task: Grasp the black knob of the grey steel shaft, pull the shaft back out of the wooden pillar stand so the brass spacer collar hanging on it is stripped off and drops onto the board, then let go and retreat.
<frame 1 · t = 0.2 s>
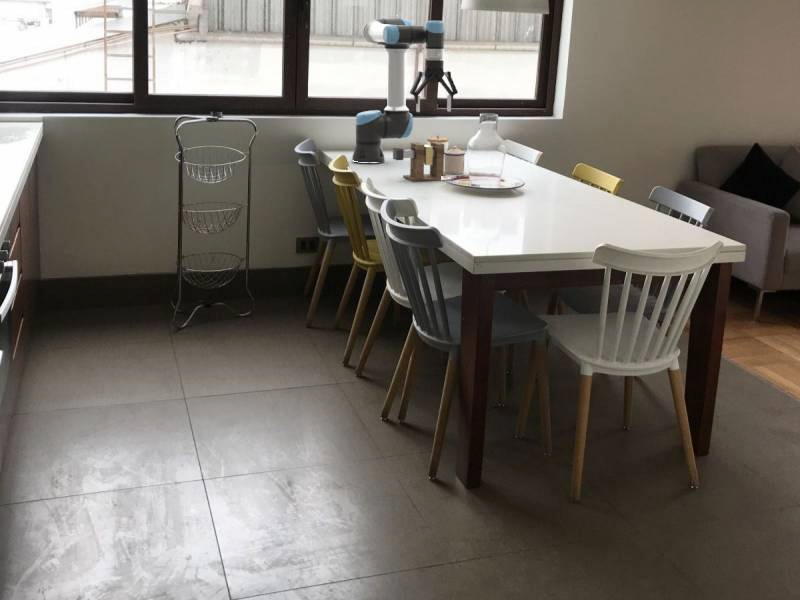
hand: (433, 111, 400), 28 cm above the table, tool pointing down, fingers open, 13 cm apart
teacup with lid: (452, 172, 421), on the table
lidded jar: (437, 154, 474), on the table
wooden pillar stand: (426, 178, 403), on the table
spacer: (425, 163, 401), point 6 cm above the table, touching shaft
shaft: (417, 153, 399), point 11 cm above the table, slide at 0.0 cm, touching spacer
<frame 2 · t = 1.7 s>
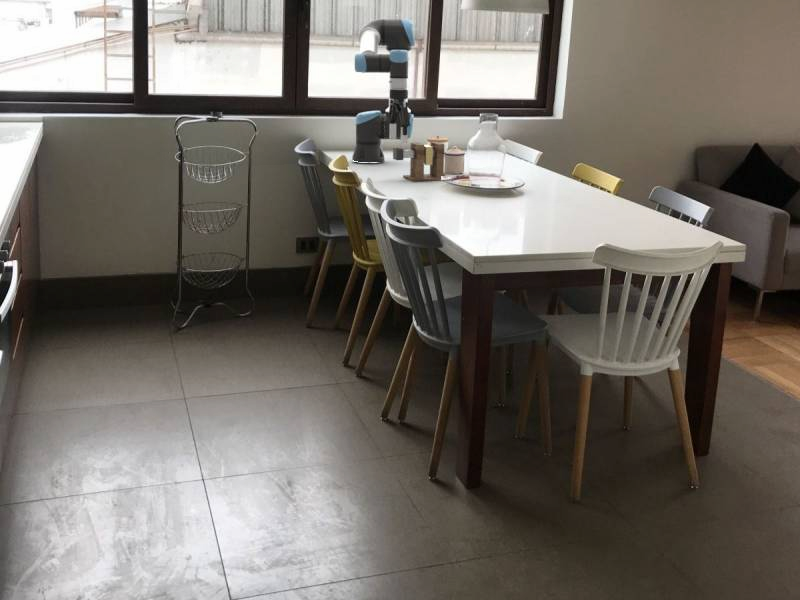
hand: (398, 141, 394), 16 cm above the table, tool pointing down, fingers open, 13 cm apart
nothing on the table moved.
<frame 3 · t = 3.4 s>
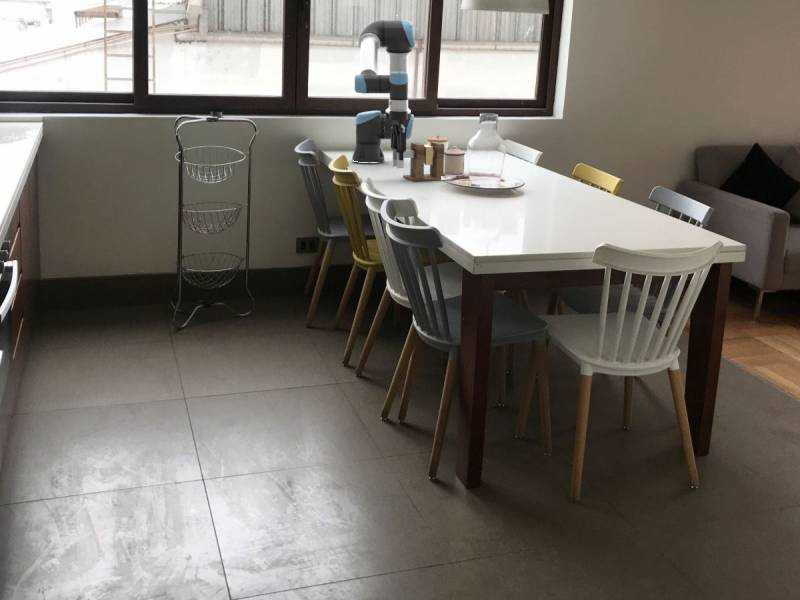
hand: (398, 166, 397), 6 cm above the table, tool pointing down, fingers closed on shaft, 4 cm apart
shaft: (417, 153, 399), point 11 cm above the table, slide at 0.0 cm, touching gripper, spacer
everything else where it was.
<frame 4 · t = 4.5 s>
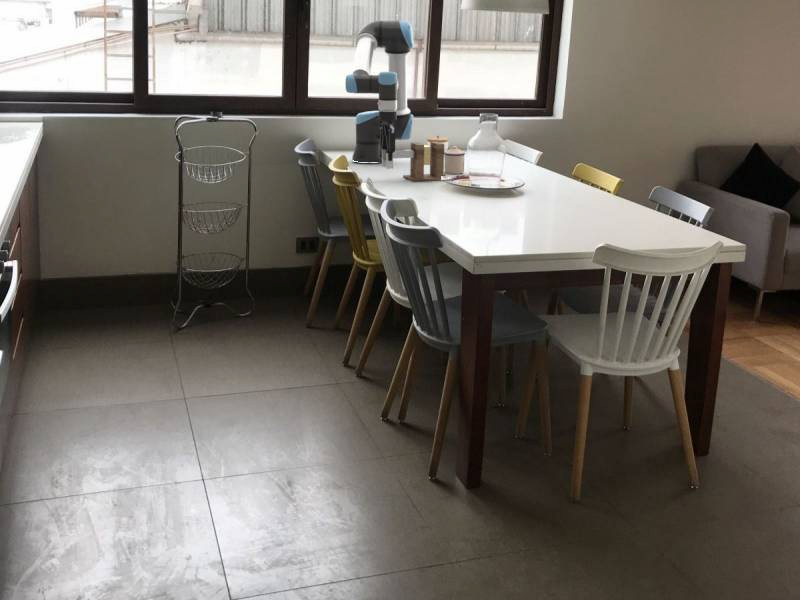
hand: (387, 167, 396), 6 cm above the table, tool pointing down, fingers closed on shaft, 4 cm apart
spacer: (423, 163, 401), point 7 cm above the table
shaft: (406, 153, 397), point 11 cm above the table, slide at 4.6 cm, touching gripper
everything else where it was.
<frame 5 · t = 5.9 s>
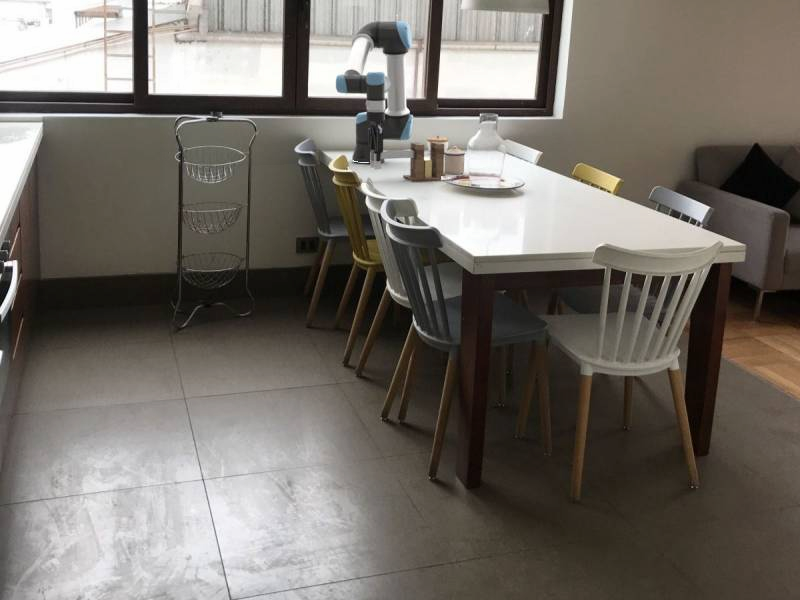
hand: (375, 168, 394), 6 cm above the table, tool pointing down, fingers closed on shaft, 4 cm apart
spacer: (425, 176, 403), point 1 cm above the table, touching wooden pillar stand
shaft: (395, 154, 395), point 11 cm above the table, slide at 9.7 cm, touching gripper
everything else where it was.
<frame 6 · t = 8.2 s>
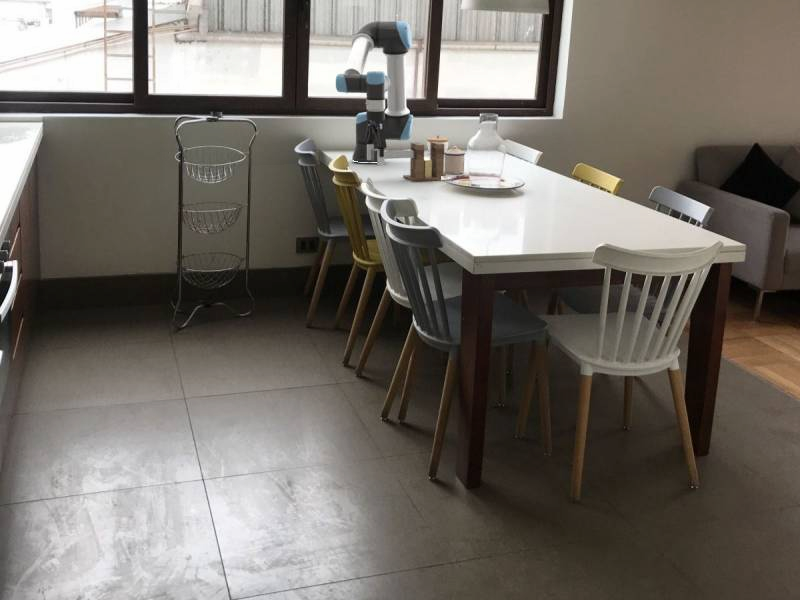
hand: (375, 162, 393), 8 cm above the table, tool pointing down, fingers open, 13 cm apart
shaft: (395, 154, 395), point 11 cm above the table, slide at 9.8 cm
everything else where it was.
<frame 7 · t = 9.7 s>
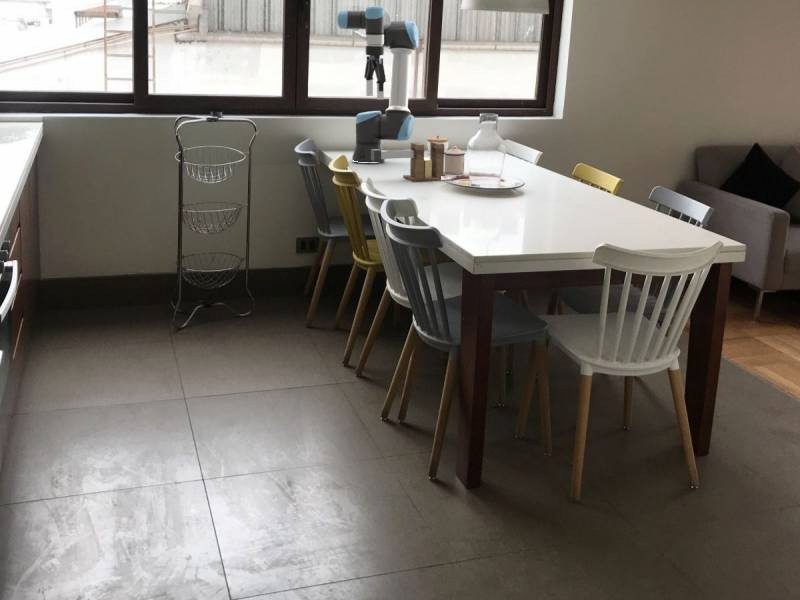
hand: (374, 97, 400), 33 cm above the table, tool pointing down, fingers open, 13 cm apart
nothing on the table moved.
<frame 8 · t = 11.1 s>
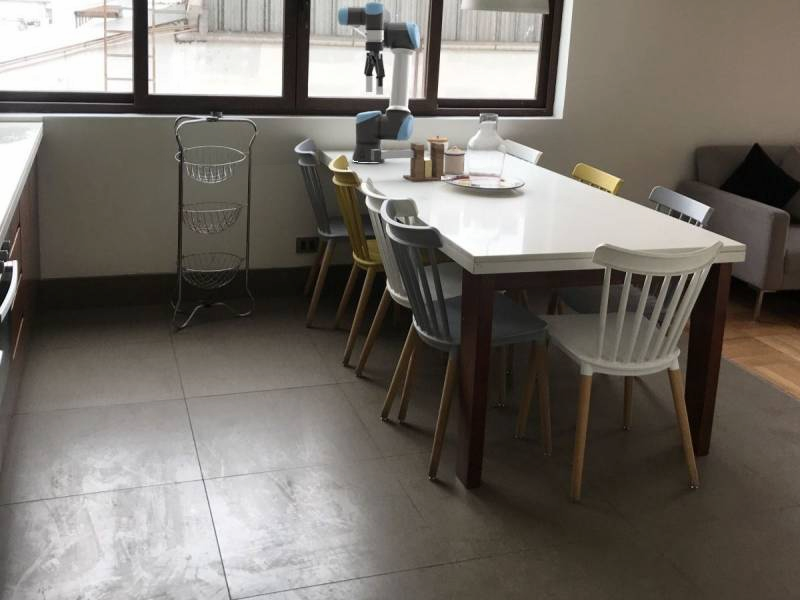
hand: (374, 93, 400), 35 cm above the table, tool pointing down, fingers open, 13 cm apart
nothing on the table moved.
at the end: shaft slide at 9.8 cm; spacer inside the target area (0.8 cm from its centre), point 1.0 cm above the table; spacer touching wooden pillar stand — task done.
